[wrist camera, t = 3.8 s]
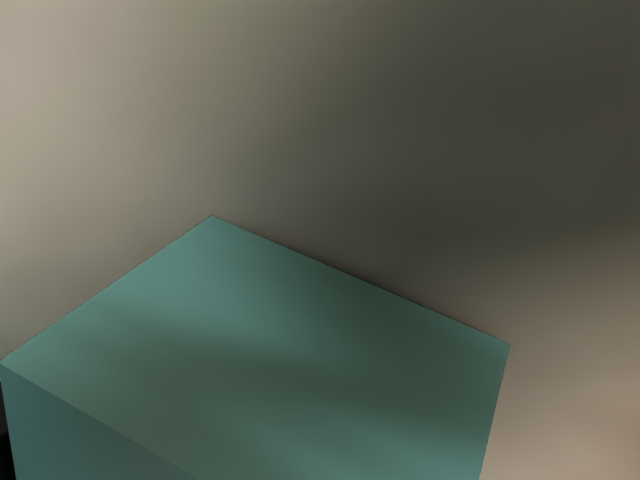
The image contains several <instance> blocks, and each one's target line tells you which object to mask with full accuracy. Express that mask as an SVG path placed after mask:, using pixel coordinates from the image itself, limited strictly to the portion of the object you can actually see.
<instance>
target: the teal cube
mask: <svg viewBox="0 0 640 480" xmlns="http://www.w3.org/2000/svg"><path fill="white" fill-rule="evenodd" d="M509 345H510V344H508V343H506V342H503V341H501V340H499V339H496V338H494V337H492V336H489V335H487V334H485V333H482V332H480V331H478V330H476V329H473V328H471V327H469V326H466V325H464V324H462V323H459V322H457V321H455V320H452V319H450V318H448V317H445V316H443V315H441V314H439V313H436V312H434V311H432V310H429V309H427V308H425V307H422V306H420V305H418V304H415V303H413V302H411V301H409V300H406V299H404V298H402V297H399V296H397V295H395V294H392V293H390V292H388V291H385V290H383V289H381V288H378V287H376V286H374V285H372V284H369V283H367V282H365V281H362V280H360V279H358V278H355V277H353V276H351V275H348V274H346V273H344V272H341V271H339V270H337V269H335V268H332V267H330V266H328V265H325V264H323V263H321V262H318V261H316V260H314V259H311V258H309V257H307V256H305V255H302V254H300V253H298V252H295V251H293V250H291V249H288V248H286V247H284V246H281V245H279V244H277V243H274V242H272V241H270V240H268V239H265V238H263V237H261V236H258V235H256V234H254V233H251V232H249V231H247V230H244V229H242V228H240V227H238V226H235V225H233V224H231V223H228V222H226V221H224V220H221V219H219V218H217V217H214V216H212V215H211V216H210V217H208V218H207V219H206V220H204V221H203V222H201V223H200V224H198V225H197V226H195V227H194V228H192V229H191V230H190V231H188V232H187V233H185V234H184V235H182V236H181V237H179V238H178V239H176V240H175V241H173V242H172V243H171V244H169V245H168V246H166V247H165V248H163V249H162V250H160V251H159V252H157V253H156V254H154V255H153V256H152V257H150V258H149V259H147V260H146V261H144V262H143V263H141V264H140V265H138V266H137V267H136V268H134V269H133V270H131V271H130V272H128V273H127V274H125V275H124V276H122V277H121V278H119V279H118V280H117V281H115V282H114V283H112V284H111V285H109V286H108V287H106V288H105V289H103V290H102V291H101V292H99V293H98V294H96V295H95V296H93V297H92V298H90V299H89V300H87V301H86V302H84V303H83V304H82V305H80V306H79V307H77V308H76V309H74V310H73V311H71V312H70V313H68V314H67V315H65V316H64V317H63V318H61V319H60V320H58V321H57V322H55V323H54V324H52V325H51V326H49V327H48V328H47V329H45V330H44V331H42V332H41V333H39V334H38V335H36V336H35V337H33V338H32V339H30V340H29V341H28V342H26V343H25V344H23V345H22V346H20V347H19V348H17V349H16V350H14V351H13V352H12V353H10V354H9V355H7V356H6V357H4V358H3V359H1V360H0V381H1V387H2V393H3V399H4V406H5V412H6V418H7V424H8V431H9V437H10V443H11V449H12V456H13V462H14V468H15V474H16V480H479V476H480V472H481V467H482V463H483V459H484V454H485V450H486V445H487V441H488V437H489V432H490V428H491V424H492V419H493V415H494V411H495V406H496V402H497V398H498V393H499V389H500V384H501V380H502V376H503V371H504V367H505V363H506V358H507V354H508V350H509Z"/></svg>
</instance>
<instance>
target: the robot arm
mask: <svg viewBox="0 0 640 480" xmlns="http://www.w3.org/2000/svg"><path fill="white" fill-rule="evenodd" d="M0 480H16V474H15V468H14V462H13V456H12V449H11V443H10V437H9V431H8V424H7V418H6V412H5V406H4V399H3V393H2V387H1V381H0Z"/></svg>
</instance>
